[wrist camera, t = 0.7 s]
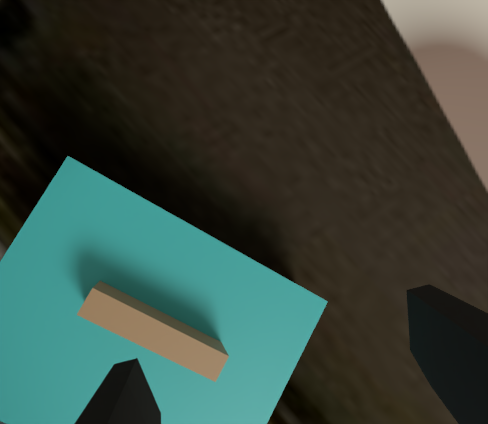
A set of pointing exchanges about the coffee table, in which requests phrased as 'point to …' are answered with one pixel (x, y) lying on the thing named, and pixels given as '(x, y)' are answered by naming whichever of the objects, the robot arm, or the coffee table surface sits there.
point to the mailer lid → (140, 311)
